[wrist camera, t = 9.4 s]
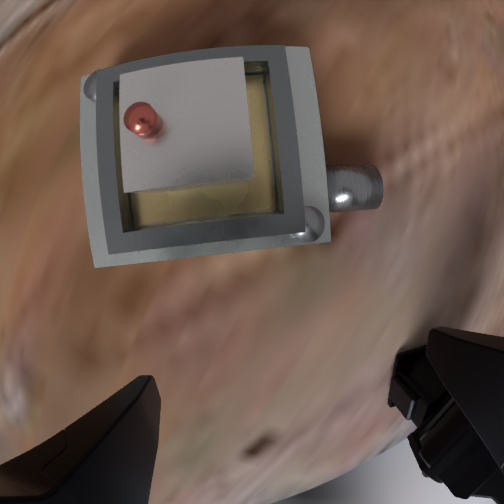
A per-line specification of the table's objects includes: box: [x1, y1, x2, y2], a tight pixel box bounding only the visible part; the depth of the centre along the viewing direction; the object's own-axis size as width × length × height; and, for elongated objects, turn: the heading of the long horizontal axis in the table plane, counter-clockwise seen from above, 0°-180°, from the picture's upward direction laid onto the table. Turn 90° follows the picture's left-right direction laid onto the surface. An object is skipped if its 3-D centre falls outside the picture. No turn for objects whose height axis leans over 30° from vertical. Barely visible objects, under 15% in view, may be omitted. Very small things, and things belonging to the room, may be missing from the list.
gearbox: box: [80, 45, 383, 268], centre depth 16 cm, size 18×12×6 cm, turn 95°
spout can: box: [119, 57, 254, 193], centre depth 11 cm, size 4×4×7 cm
